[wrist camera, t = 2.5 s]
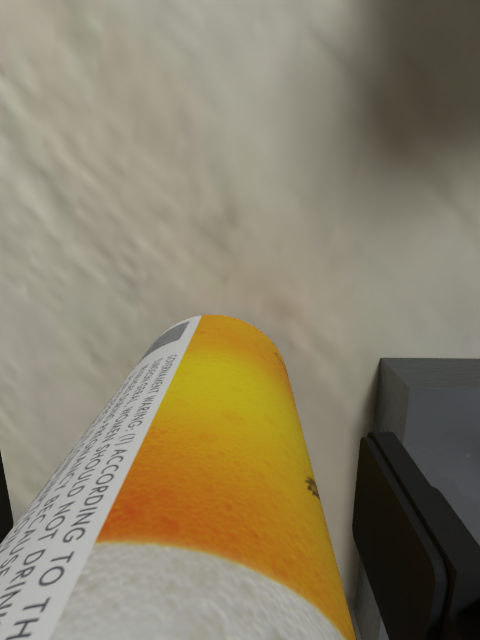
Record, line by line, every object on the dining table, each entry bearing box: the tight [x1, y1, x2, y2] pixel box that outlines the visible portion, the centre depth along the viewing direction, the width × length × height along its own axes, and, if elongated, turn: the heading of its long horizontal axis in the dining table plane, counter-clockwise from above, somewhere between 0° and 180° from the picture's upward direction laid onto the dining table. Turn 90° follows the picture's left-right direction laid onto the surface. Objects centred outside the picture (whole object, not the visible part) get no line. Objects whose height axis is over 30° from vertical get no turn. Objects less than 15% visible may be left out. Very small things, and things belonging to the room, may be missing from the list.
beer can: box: [0, 315, 356, 640], centre depth 9 cm, size 6×6×15 cm
